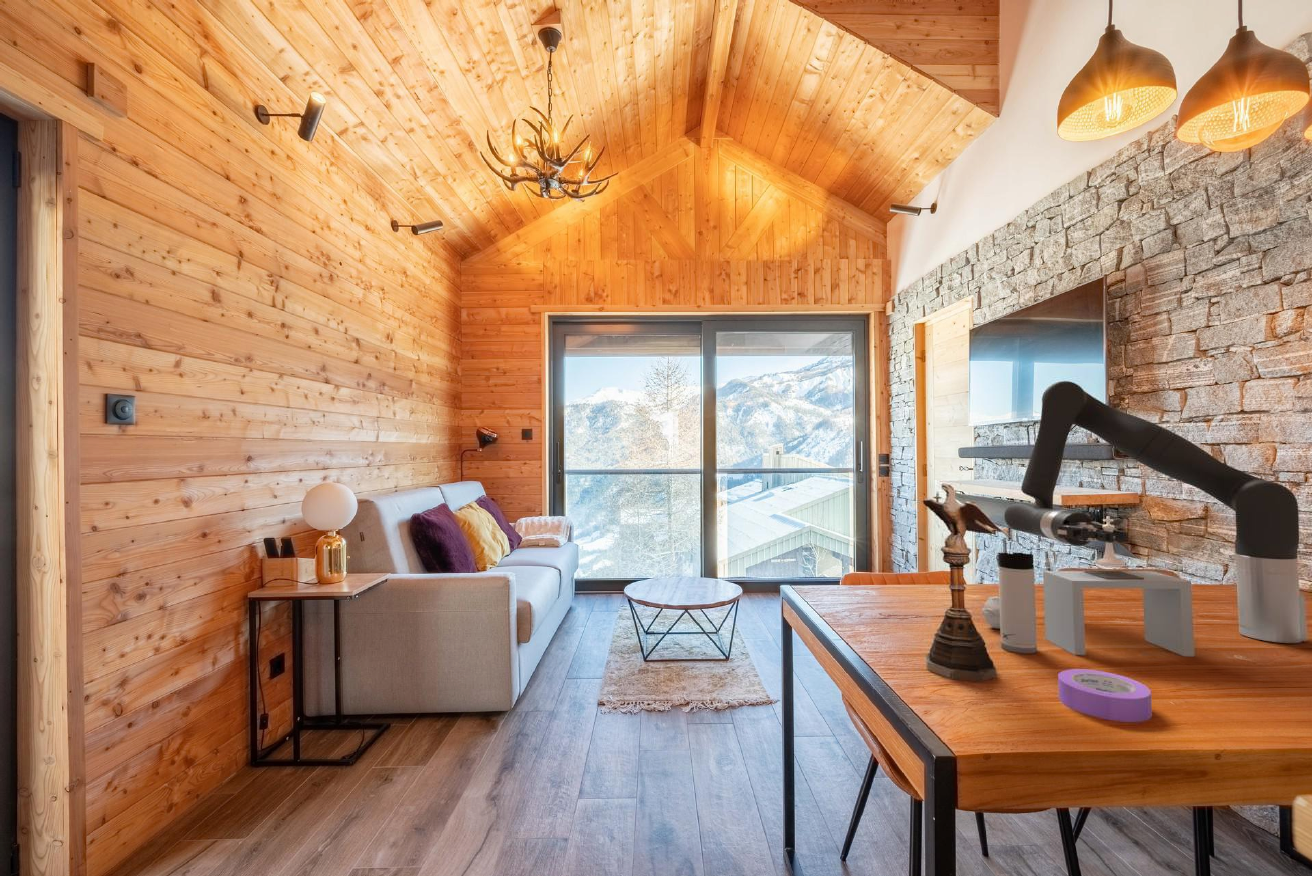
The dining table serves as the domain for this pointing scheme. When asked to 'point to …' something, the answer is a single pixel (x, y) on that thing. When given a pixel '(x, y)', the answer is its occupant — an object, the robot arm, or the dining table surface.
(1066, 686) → the masking tape
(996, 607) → the frog figurine
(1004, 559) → the travel mug
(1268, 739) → the dining table surface
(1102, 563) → the chess piece
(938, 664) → the bird statue
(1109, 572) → the pad
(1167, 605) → the bridge
